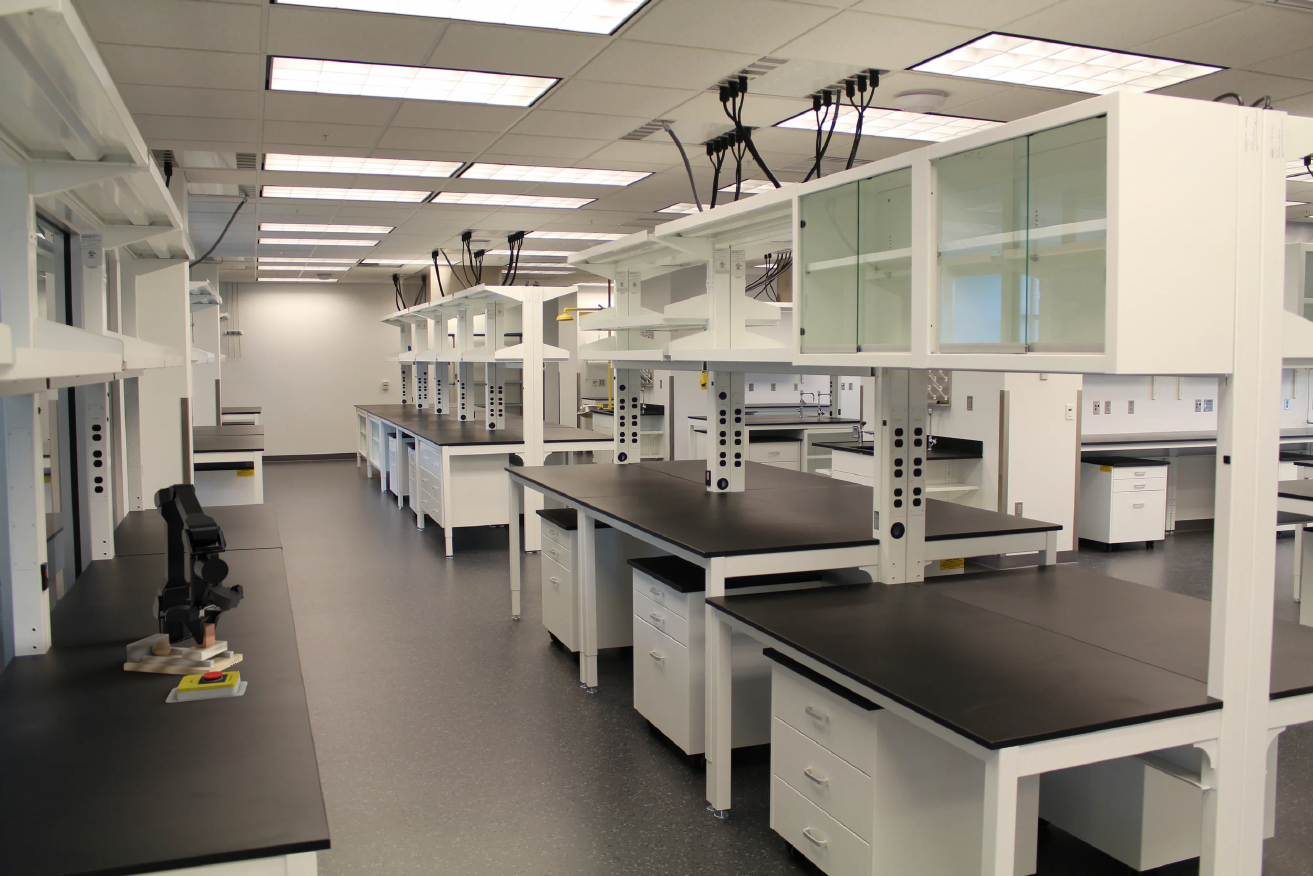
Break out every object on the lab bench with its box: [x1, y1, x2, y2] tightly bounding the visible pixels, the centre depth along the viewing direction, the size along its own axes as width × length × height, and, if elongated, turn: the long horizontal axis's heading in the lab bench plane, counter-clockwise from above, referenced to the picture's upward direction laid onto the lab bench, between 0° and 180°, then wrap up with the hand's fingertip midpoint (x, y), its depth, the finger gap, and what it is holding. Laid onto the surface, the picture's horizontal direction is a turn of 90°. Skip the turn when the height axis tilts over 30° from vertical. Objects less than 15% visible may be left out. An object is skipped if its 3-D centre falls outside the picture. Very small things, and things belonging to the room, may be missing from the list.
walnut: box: [152, 640, 172, 657], centre depth 214 cm, size 4×4×4 cm
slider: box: [182, 623, 228, 661], centre depth 212 cm, size 5×9×7 cm, turn 169°
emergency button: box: [165, 670, 249, 704], centre depth 196 cm, size 9×4×15 cm
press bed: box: [123, 632, 244, 676], centre depth 213 cm, size 22×12×6 cm, turn 79°
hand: (204, 642), depth 212 cm, fingers closed on slider, 3 cm apart
